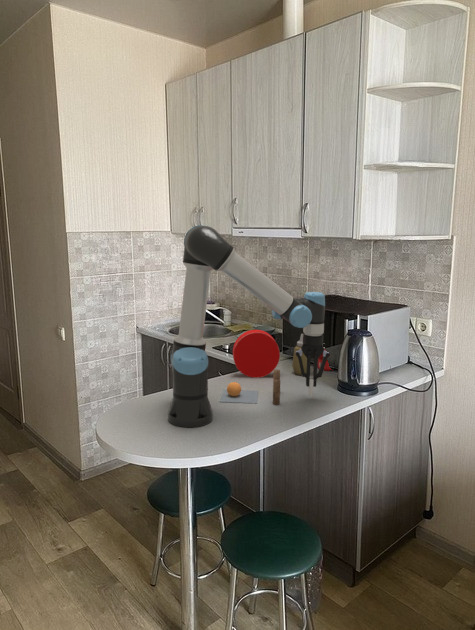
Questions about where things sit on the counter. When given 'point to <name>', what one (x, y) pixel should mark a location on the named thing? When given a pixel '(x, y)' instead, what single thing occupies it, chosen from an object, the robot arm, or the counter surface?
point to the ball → (234, 389)
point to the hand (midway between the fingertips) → (310, 394)
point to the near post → (276, 392)
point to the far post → (276, 374)
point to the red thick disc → (256, 353)
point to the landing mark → (240, 397)
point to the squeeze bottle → (295, 359)
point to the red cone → (325, 364)
